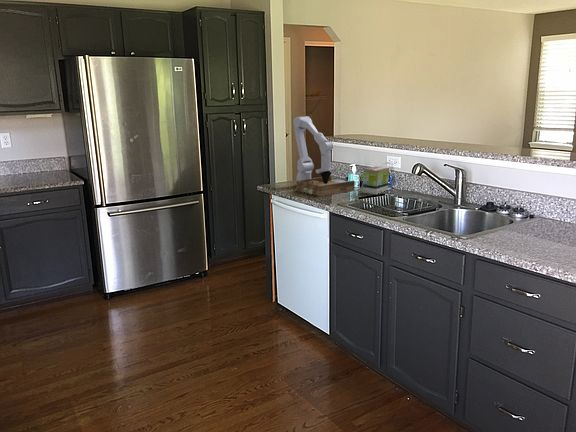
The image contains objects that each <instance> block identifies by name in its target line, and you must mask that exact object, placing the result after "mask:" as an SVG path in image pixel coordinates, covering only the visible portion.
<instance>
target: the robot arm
mask: <svg viewBox="0 0 576 432" xmlns="http://www.w3.org/2000/svg"><path fill="white" fill-rule="evenodd" d="M293 128H294V136H295V141H296V145H297V151H298V156H299V159H298V160H297V162H296V164H297V166H296V167H297V171H298V172H297V174H296V182H297V181H300V180H307V179H312V173H313V170H315V173H316V174H320V177H322V178H323V182H324V184H327V183H328V180H329V177H330V176H332V172H336V170H337V169H336V167H331V165H332V164H331V162H332V161H331V159H332V151H333V149H334V144H333V142H332V141H330V140H328V139H327V138H326V137H325V136H324V133H322V132H319V131H318V130H317V128H316V126H315V125H314V123H313V120H312V119H311V117H310V116H309V115H308V116H307V115H306V116H296V117H295V118H294V119H293ZM306 130H308V132H310V133H311V134H312V136H313V139H314V141H315V142H316V144H318V146H319V150H320V155H321V156H320V157H321V158H320V160H321V161H320V163H321V164H320V165H321V167H320V168H318V169H315V165H314V162H313V159H312V158H310V156H309V154H308V149H307V143H306V138H305V134H304V133H305V131H306ZM295 186H296V187H297V184H295Z"/></svg>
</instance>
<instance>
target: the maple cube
mask: <svg viewBox="0 0 576 432" xmlns="http://www.w3.org/2000/svg"><path fill="white" fill-rule="evenodd" d="M310 184H314V185H319V181H316V180H313V181H310Z"/></svg>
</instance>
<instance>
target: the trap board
mask: <svg viewBox="0 0 576 432" xmlns="http://www.w3.org/2000/svg"><path fill="white" fill-rule="evenodd" d="M313 180H316V181H319V185H314V184H310V181H313ZM355 184H356V182H355V180H349V181H342V182H339V181H333V180H332V175H330V177H329V180H328V183H327V184H324V182H323V178H322V176H320V177H315V178H311V179H307V180H300V181H297V180H296V185H297V186H296V191H297V192H301V193H304V192H305V194H308V193H309V195H312V194H313V195H312V196H316V195H317V197H320V196H321V197H324V196H325V195H326V196H331V194H332V195H336V194H341V193H348V192H353V191H355Z"/></svg>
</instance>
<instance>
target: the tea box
mask: <svg viewBox="0 0 576 432" xmlns="http://www.w3.org/2000/svg"><path fill="white" fill-rule="evenodd" d="M362 178H363V179H362V181H363V182H362V193H363V194H370V195H378V193H379V194H382V193H385V192H387V191H386V190H389V183H388V180H389V179H390V167H387V166H377V165H376V166H375V165H374V166H371V167H370V166H369V167H367V168H363V177H362ZM389 181H390V180H389ZM384 191H385V192H384ZM381 192H382V193H381Z"/></svg>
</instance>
